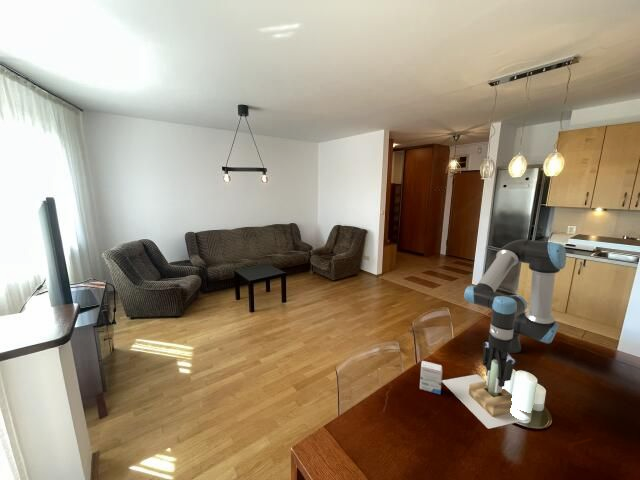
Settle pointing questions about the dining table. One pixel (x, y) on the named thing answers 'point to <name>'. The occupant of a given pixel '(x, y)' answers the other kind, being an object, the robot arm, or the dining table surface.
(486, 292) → the robot arm
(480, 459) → the dining table surface
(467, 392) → the grey mat
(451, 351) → the dining table surface
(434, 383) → the ink box
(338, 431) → the dining table surface
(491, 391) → the pale green cylinder
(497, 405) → the wooden square holder
